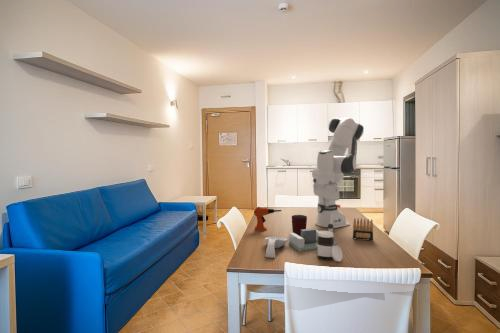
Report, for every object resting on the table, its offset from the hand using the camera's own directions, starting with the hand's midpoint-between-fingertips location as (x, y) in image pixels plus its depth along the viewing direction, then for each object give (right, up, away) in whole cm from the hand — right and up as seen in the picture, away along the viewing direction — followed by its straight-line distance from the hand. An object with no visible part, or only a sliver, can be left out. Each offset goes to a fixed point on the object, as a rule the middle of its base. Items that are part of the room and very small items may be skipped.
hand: (326, 205), depth 156 cm
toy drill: (-30, -19, +25) cm, 43 cm away
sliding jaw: (-1, -19, 0) cm, 19 cm away
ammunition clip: (+22, -20, +7) cm, 31 cm away
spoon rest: (-29, -21, -9) cm, 37 cm away
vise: (-8, -20, -2) cm, 22 cm away
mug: (-12, -20, +17) cm, 29 cm away
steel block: (-10, -19, -3) cm, 22 cm away
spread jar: (-4, -22, -21) cm, 30 cm away
